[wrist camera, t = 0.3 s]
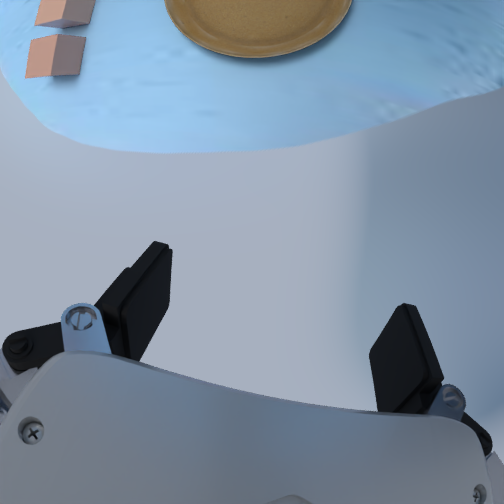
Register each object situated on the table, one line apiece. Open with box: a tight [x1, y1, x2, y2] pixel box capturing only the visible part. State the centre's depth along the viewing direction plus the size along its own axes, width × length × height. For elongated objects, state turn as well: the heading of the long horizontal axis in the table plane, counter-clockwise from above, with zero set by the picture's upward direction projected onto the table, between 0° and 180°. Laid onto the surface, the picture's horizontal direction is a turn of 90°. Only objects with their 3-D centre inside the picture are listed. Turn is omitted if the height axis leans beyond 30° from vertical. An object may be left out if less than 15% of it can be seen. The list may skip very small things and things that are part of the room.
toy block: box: [34, 0, 95, 28], centre depth 26 cm, size 6×6×7 cm
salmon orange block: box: [25, 34, 86, 78], centre depth 30 cm, size 6×6×7 cm
